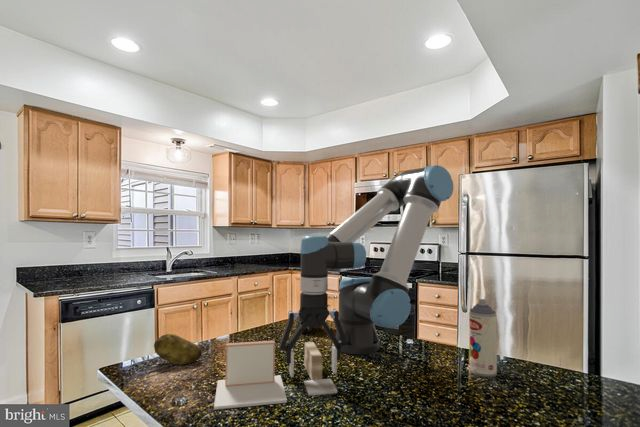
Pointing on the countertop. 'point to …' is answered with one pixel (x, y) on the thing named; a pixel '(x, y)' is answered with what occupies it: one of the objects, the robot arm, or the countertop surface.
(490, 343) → the aerosol can
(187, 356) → the potato
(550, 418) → the countertop surface
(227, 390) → the mat
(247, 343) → the tile
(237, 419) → the countertop surface
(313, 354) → the scraper
